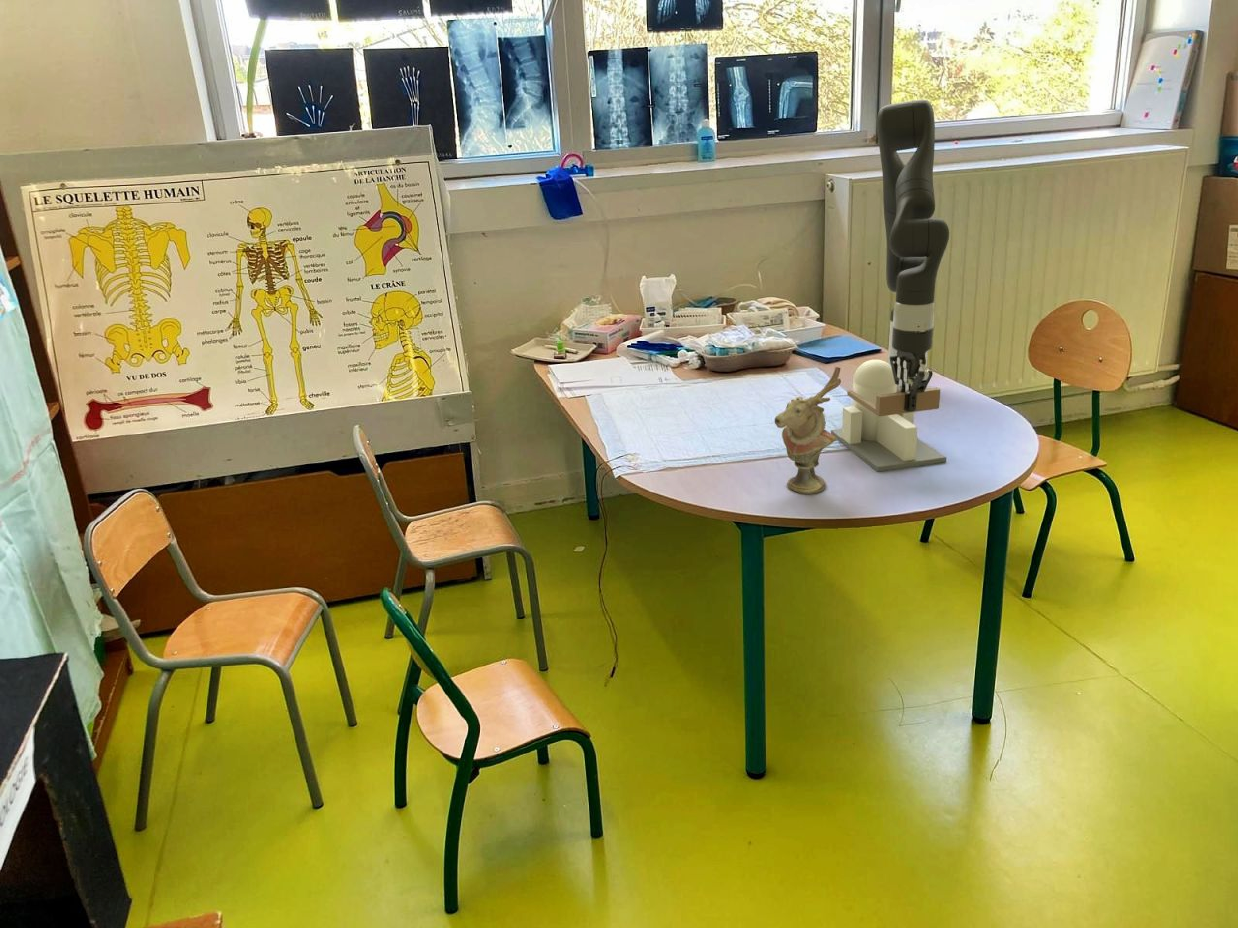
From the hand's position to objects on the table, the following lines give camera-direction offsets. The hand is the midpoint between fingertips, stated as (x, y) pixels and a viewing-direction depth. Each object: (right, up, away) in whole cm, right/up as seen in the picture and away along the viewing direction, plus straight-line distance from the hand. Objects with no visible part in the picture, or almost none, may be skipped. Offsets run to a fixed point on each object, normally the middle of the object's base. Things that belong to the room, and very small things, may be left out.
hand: (907, 409), depth 185 cm
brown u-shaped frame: (-1, +2, +6) cm, 7 cm away
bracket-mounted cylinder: (-1, -7, +12) cm, 14 cm away
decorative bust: (-23, -16, -4) cm, 28 cm away
